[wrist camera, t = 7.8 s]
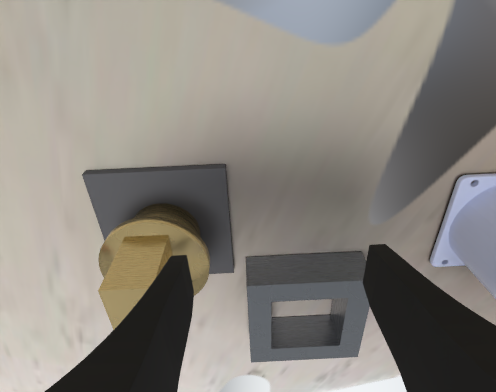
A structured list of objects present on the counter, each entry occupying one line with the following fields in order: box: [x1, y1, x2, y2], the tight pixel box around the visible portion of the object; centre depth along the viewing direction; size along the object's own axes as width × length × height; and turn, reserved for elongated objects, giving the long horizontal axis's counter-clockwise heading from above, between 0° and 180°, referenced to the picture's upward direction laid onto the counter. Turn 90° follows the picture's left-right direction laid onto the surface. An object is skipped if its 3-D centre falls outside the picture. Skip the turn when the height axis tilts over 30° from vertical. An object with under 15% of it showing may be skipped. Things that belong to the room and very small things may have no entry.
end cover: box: [98, 204, 210, 329], centre depth 19 cm, size 7×7×8 cm
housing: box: [246, 251, 370, 362], centre depth 26 cm, size 9×9×3 cm
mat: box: [82, 164, 234, 274], centre depth 22 cm, size 9×9×1 cm
